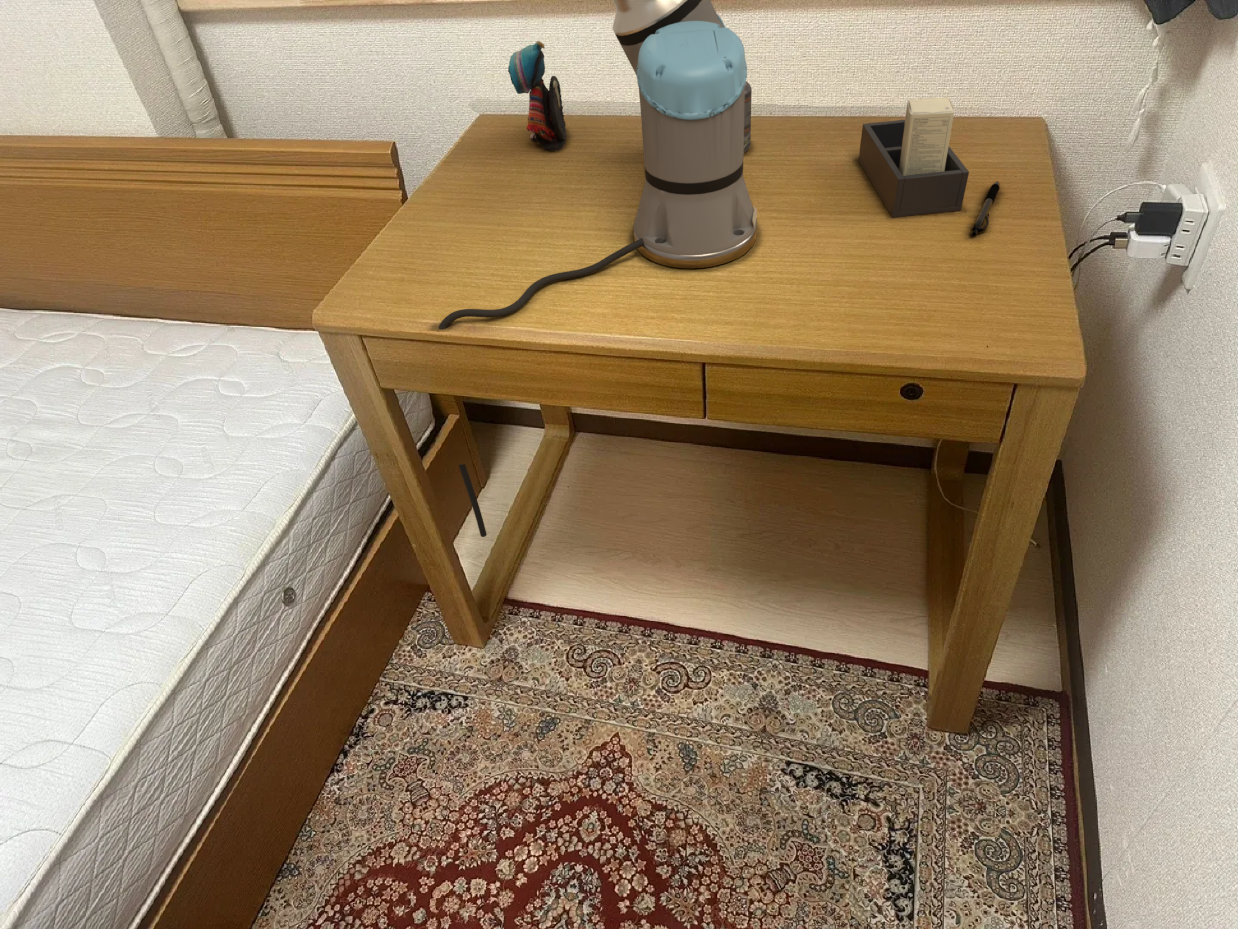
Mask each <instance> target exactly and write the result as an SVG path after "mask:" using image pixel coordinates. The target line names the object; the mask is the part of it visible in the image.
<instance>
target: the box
mask: <svg viewBox="0 0 1238 929" xmlns="http://www.w3.org/2000/svg"><path fill="white" fill-rule="evenodd" d="M954 116H955V110H954V106H953V103H952V101H951V98H950V97H937V98H916V99H912V98H911V99H908V100H907V103H906V111H905V119H904V120H905V125H904V133H903V141H902V149H901V157H900V164H899V171H900V172H901V174H902V175H903V176H906V175H915V174H925V173H935V172H944V170H945V164H946V158H947V152H948V147H950V140H951V134H952V128H953V123H954Z"/></svg>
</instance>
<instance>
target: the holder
mask: <svg viewBox="0 0 1238 929" xmlns="http://www.w3.org/2000/svg"><path fill="white" fill-rule="evenodd" d="M904 125H905V119H896V120H888V121H887V120H886V121H878V122H870V123H863V124H862V127H861V135H860V136H861V137H860V143H859V153H858V162H859V163H860V165H861V167H862V169H863V170H864V172H865V174H866V176H867V177H868V179H869V181H870V182H871V184H872V185H873V188H874V189H875V191H876V192H877V194H878V196H879V198H880V199H881V201H882V203H883V205H884V206H885V208H886V209H887V211H888V213H889V214H890V216H891V218H901V217H911V216H920V215H921V216H922V215H930V214H940V213H941V214H942V213H950V212H960V211H961V212H962V209H963V208H962V207H963V203H964V198H965V193H966V188H967V183H968V180H969V179H968V178H969V175H970V171H969V169H967V167H966V165H964V163H963V162H962V161H961V160H960V158H959V157H958V156H957V154H956V153H955V152H954V150H953V149H952V148H951V146H949V147H948V152H947V158H946V164H945V170H944V172H935V173H925V174H915V175H906V176H903V175H902V174H901V172H900V171H899V164H900V157H901V149H902V141H903V133H904Z"/></svg>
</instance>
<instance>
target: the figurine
mask: <svg viewBox="0 0 1238 929" xmlns="http://www.w3.org/2000/svg"><path fill="white" fill-rule="evenodd" d="M542 49H545V44H544V43H543V42H542V41H541V40H537V41H536V42H535V43H533V44H529V45H526V46H525V47H523V48H521V49H520V50H517V51H514V52H513V53H512V54H511V56H510V58H509V62H508V67H507V72H508V74H509V77H510V81H511V84H512V85H513V87H514V90H515V92H516V94H518V95H521V94H522V95H523V94H529V95H528V99H529V104H528V115H527V126H526V129H525V130H527V131H528V132H531V133H530V136H529V137H530V138H529V139H530V141H532V142H533V143H537V144H538V145H539V146H540V147H542V149H543V150H545V151H547V152H559V151H561V150H562V149H563V148H564V147H565V145H566V142H567V128H566V125H567V124H566V121H565V119H564V118H565V115H564V110H563V109H564V107H563V99H562V92H561V91H562V90H561V85H560V84H561V83H560V81H559V79H558V78H557V76H556V75H552V76H550V79H549V80H550V81H549V86H548V87H547V86H546V85H545V82H544V80H545V79H543V77H544V75H545V72H546V65H545V54H544V51H542Z"/></svg>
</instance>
